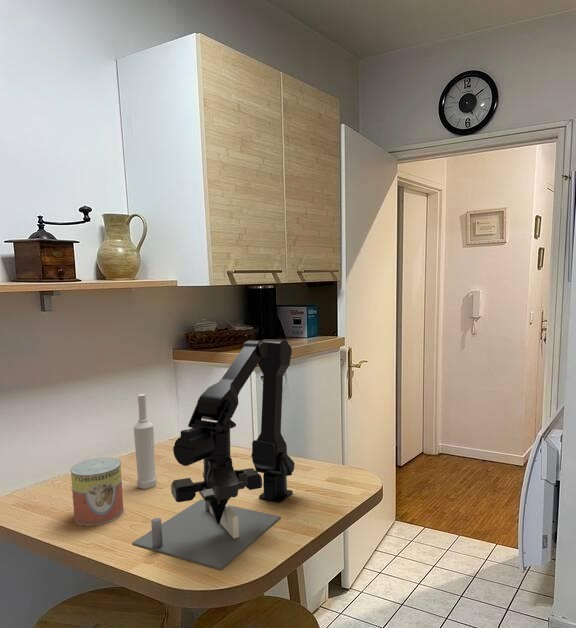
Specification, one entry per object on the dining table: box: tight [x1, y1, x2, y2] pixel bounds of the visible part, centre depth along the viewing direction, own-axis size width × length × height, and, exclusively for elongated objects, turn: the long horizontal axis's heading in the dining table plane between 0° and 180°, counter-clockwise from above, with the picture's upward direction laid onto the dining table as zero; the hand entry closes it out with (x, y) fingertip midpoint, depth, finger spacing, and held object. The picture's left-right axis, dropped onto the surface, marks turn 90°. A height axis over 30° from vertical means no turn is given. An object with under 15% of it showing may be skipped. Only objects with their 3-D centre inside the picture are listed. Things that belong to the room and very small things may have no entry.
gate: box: [205, 501, 239, 538], centre depth 114 cm, size 18×2×5 cm, turn 28°
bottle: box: [133, 393, 157, 490], centre depth 138 cm, size 5×5×25 cm
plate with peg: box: [131, 498, 282, 571], centre depth 112 cm, size 23×23×6 cm
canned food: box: [70, 457, 125, 527], centre depth 122 cm, size 11×11×12 cm
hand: (217, 523), depth 110 cm, fingers closed
